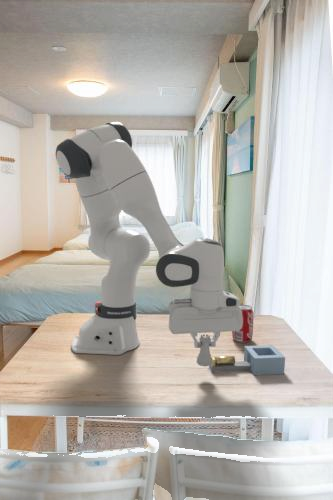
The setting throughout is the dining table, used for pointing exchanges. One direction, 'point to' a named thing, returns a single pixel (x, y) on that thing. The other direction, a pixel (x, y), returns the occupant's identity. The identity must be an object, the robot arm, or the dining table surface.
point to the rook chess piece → (204, 351)
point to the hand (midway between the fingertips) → (204, 346)
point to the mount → (256, 361)
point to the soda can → (245, 325)
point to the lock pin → (222, 360)
